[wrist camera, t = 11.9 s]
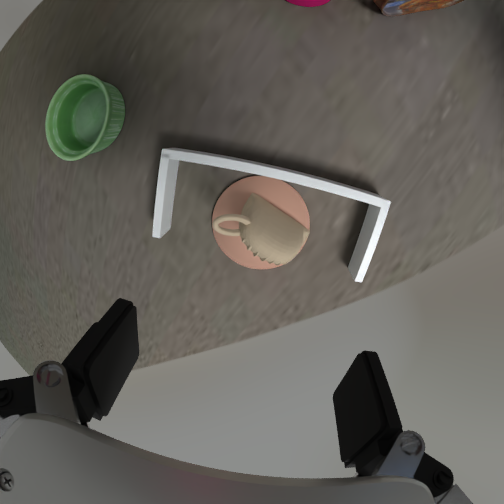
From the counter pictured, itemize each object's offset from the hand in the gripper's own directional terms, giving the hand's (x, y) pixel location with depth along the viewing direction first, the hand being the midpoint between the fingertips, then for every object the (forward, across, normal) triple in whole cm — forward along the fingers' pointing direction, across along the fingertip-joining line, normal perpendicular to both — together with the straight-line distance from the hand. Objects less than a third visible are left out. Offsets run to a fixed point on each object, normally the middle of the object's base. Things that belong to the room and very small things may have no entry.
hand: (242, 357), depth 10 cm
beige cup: (+18, 0, 0) cm, 18 cm away
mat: (+18, 0, 0) cm, 18 cm away
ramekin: (+18, +20, -8) cm, 29 cm away
